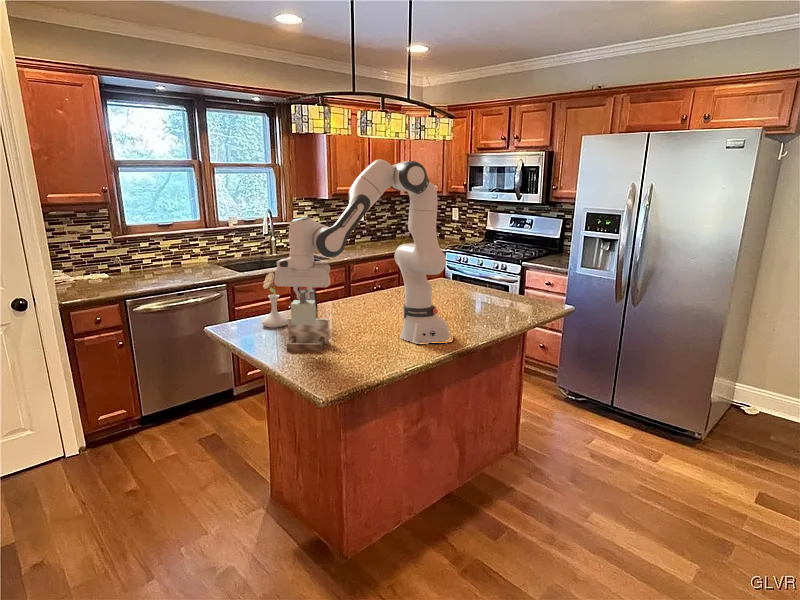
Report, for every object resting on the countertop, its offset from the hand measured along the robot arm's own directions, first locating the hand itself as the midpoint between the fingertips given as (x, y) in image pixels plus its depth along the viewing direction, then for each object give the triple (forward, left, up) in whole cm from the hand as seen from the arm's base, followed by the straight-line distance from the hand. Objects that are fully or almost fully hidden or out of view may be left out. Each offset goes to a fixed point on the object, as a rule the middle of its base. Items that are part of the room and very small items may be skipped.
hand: (302, 298), depth 178 cm
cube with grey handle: (0, 0, -10) cm, 10 cm away
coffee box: (+4, -31, -21) cm, 37 cm away
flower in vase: (+19, -29, -21) cm, 40 cm away
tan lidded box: (0, -3, -21) cm, 21 cm away
